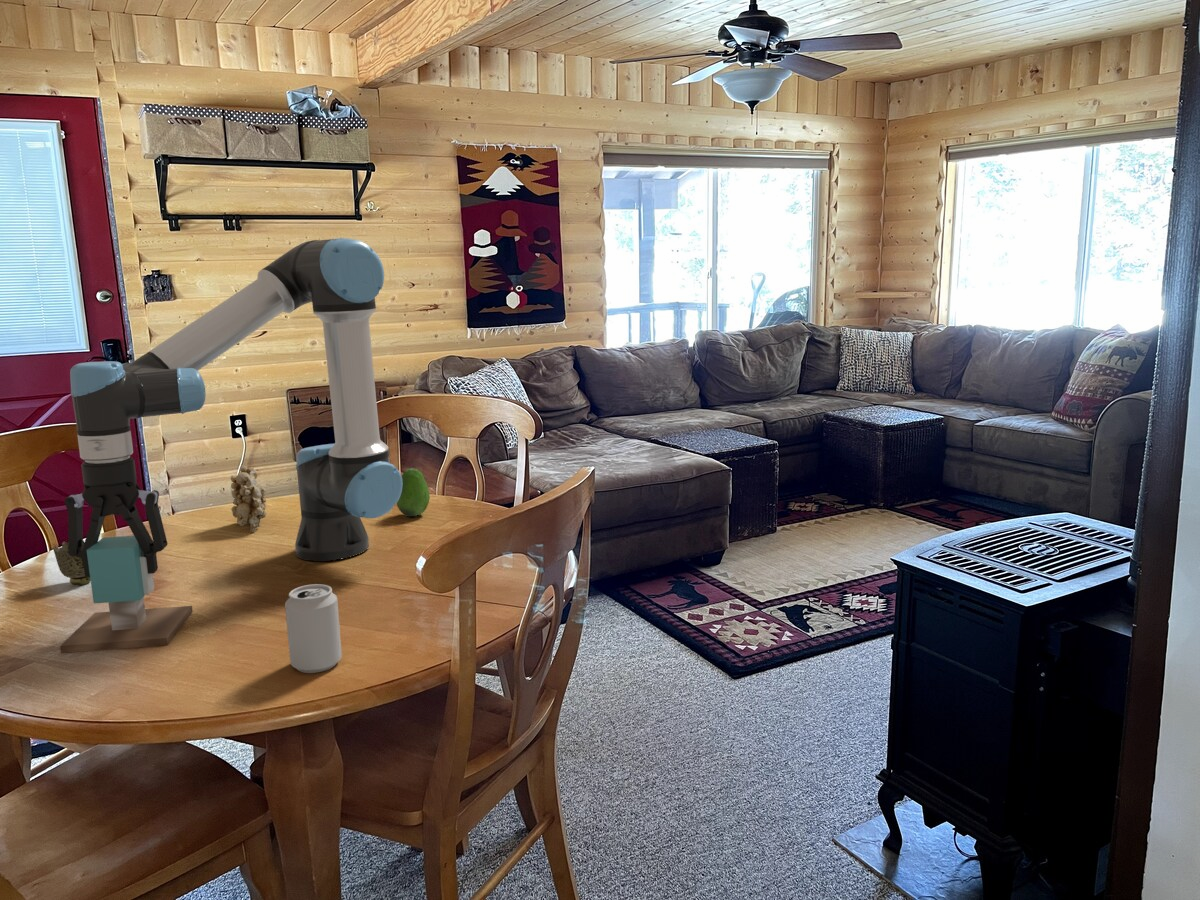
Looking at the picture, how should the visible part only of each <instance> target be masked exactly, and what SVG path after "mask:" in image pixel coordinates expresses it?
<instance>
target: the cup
mask: <svg viewBox="0 0 1200 900" xmlns="http://www.w3.org/2000/svg"><path fill="white" fill-rule="evenodd" d="M84 543H85V540H84V539H83V547H84ZM61 544H62V545H61V546H59V547H58V545H54V547H52V549H53V553H54V557H55V561H56V564H57V566H58V569H59V571H60V573H61V574H62V575H63V576H64V577H65V578H69V583H70V584H71V585H72V586H76V585H78V586H83V585H87V584H89V583H91V580H90V577H86V576H85V572H84V565H83V560H82V558H80V557H77V556H73V557H72V556H70V555H69V553H68V541H67V542H66V541H63V542H62V543H61Z"/></svg>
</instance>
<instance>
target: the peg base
mask: <svg viewBox="0 0 1200 900" xmlns="http://www.w3.org/2000/svg"><path fill="white" fill-rule="evenodd" d="M144 599H145V596H144V597H143V598H142V599H141V600H138V601H123V602H107V603H108V609H109V610H108V611H100V612H99V611H98V612H94V613H92V615H91V616H90V617H88V619H86V620H85V621H84V622H83V623H82V624H81V625H80V626H79V627H78V628H77V629H76V630H75V631H74V632H73V633H72V634H71V635H70V636H69V637H67V638H66V639H65V640H64V641H62V643H61V644H60V645H59V649H60V651H59V652H60V653H61V654H65V653H68V654H69V653H78V652H92V651H104V650H106V651H107V650H117V649H118V650H119V649H129V648H143V647H144V648H145V647H147V648H148V647H155V646H156V647H157V646H158V647H159V646H168V645H169V644H170V643H171V642H172V641H173V639H174V637H175V636H176V635H177V634H178V632H179V631H180V630H181V628H182V627H183V626H184V624H186V622H187V620H188V619H189V618H190V616H191V615H192V614H193V613H192V612H193V611H194V610H193V606H192V605H183V606H168V607H157V608H155V607H154V608H146V606H145V600H144ZM185 621H186V622H185ZM179 629H180V630H179ZM176 633H177V634H176ZM172 638H173V639H172ZM169 642H170V643H169Z"/></svg>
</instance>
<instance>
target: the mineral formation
mask: <svg viewBox="0 0 1200 900" xmlns="http://www.w3.org/2000/svg"><path fill="white" fill-rule="evenodd" d="M239 471H240V472H239V473H237V475H236V474H233V475H231V477H230V481H231V484H230V488H231V489H232V491H231V496H232V498H233V501H232V504H233V506H232V507H231V508H230V509H231V512H232V516H233V517H234V518H236V523H237V525H239V526H240V527H243V526H244V525H246V524H249V526H250V527H249V530H250V532H251V533H254V532H256V531H257V529H258V528H260V527H261V519H264V518H266V515H267V512H266V508H267V503H266V502H267V499H266V498H265V496H266V494H267V490H266V488H265V486H261V487H260V486H259V483H258V482H257V477H258V472H257V471H256V469H254V467H247V466H245V465H242V466H240V468H239Z"/></svg>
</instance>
